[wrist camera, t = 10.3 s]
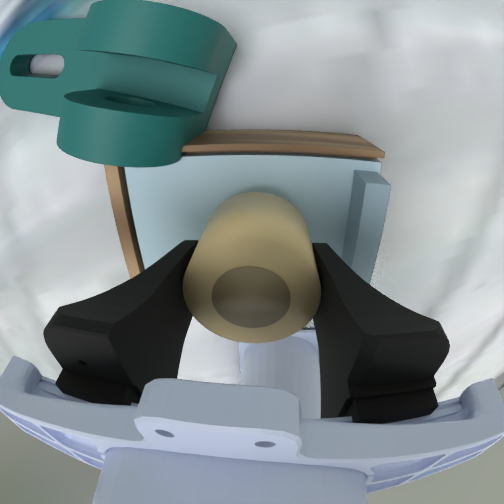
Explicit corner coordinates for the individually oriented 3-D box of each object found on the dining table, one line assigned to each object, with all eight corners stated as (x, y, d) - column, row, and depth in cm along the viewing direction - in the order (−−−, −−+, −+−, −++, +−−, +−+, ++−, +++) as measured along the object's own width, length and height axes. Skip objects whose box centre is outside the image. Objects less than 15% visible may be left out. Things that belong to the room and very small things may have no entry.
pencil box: (342, 257, 21) (356, 299, 17) (157, 252, 22) (134, 292, 18) (357, 135, 16) (384, 152, 12) (139, 136, 17) (102, 154, 13)
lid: (354, 282, 17) (364, 312, 15) (152, 276, 18) (137, 304, 16) (376, 158, 13) (396, 174, 11) (129, 158, 14) (104, 173, 12)
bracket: (237, 44, 14) (211, 8, 7) (200, 144, 17) (154, 181, 10) (27, 26, 11) (-44, 27, 5) (10, 101, 15) (-60, 123, 8)
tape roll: (303, 286, 15) (310, 347, 11) (208, 281, 15) (190, 340, 12) (315, 194, 12) (332, 242, 9) (201, 190, 12) (172, 235, 9)
